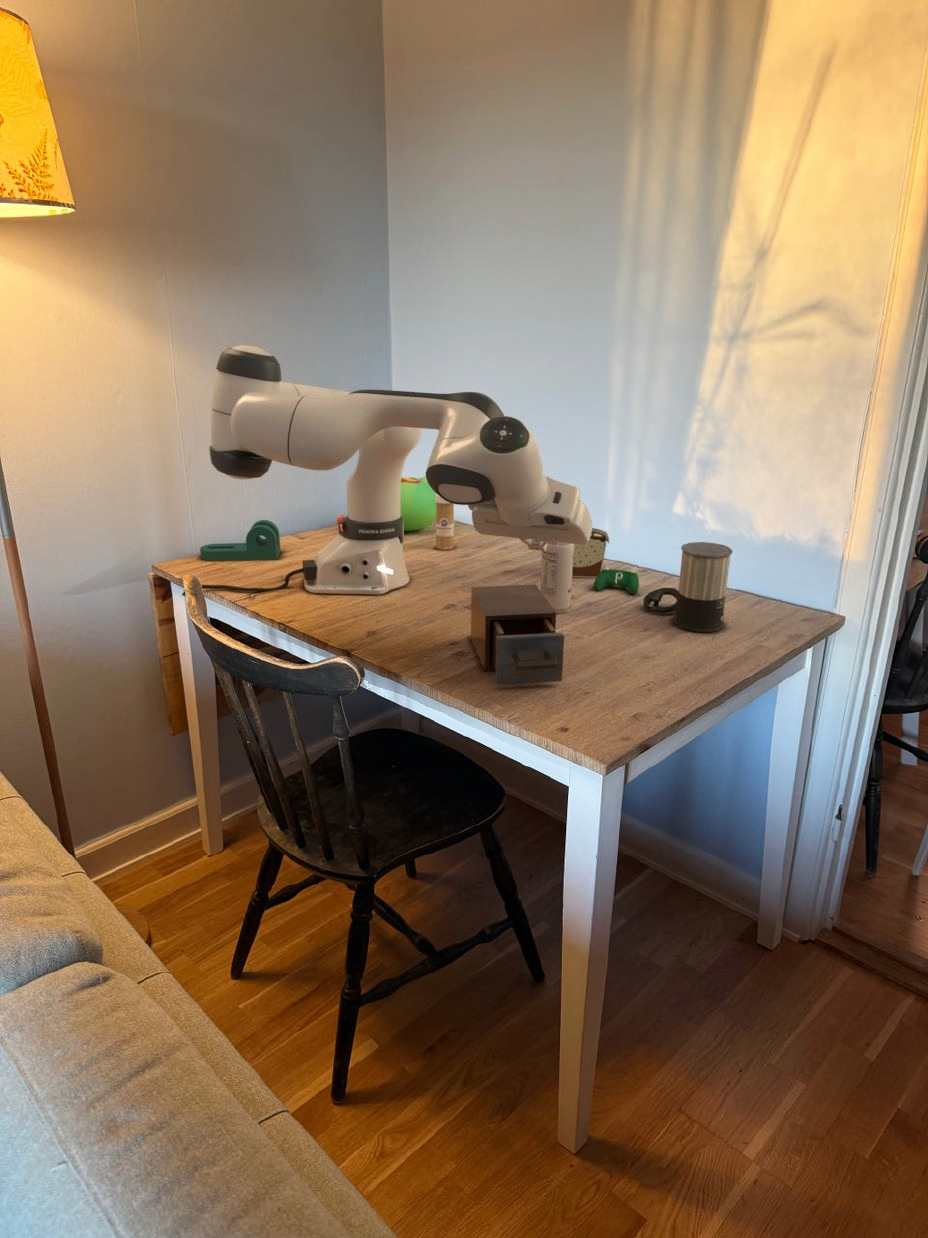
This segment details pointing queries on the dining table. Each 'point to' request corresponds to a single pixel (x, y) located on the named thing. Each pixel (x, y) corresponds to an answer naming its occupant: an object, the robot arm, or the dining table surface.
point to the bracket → (247, 545)
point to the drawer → (526, 651)
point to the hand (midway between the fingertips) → (538, 547)
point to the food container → (590, 555)
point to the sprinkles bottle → (444, 524)
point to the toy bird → (417, 503)
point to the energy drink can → (557, 574)
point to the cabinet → (504, 612)
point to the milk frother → (697, 588)
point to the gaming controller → (617, 579)
